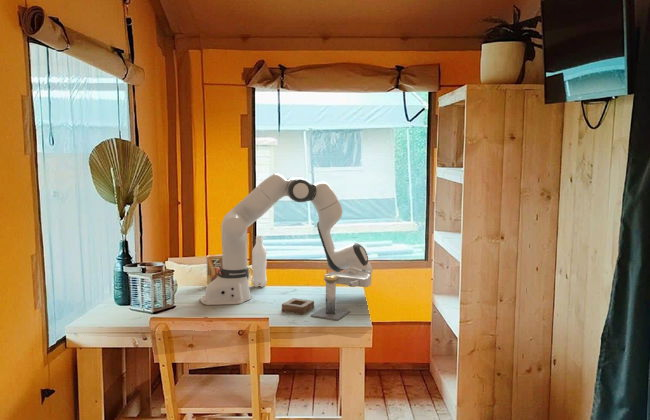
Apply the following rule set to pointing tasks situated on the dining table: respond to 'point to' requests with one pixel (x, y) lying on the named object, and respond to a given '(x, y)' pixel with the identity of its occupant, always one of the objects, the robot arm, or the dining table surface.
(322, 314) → the rubber mat
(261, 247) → the water bottle
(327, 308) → the steel peg
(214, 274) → the candy box
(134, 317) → the dining table surface
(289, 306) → the socket block
